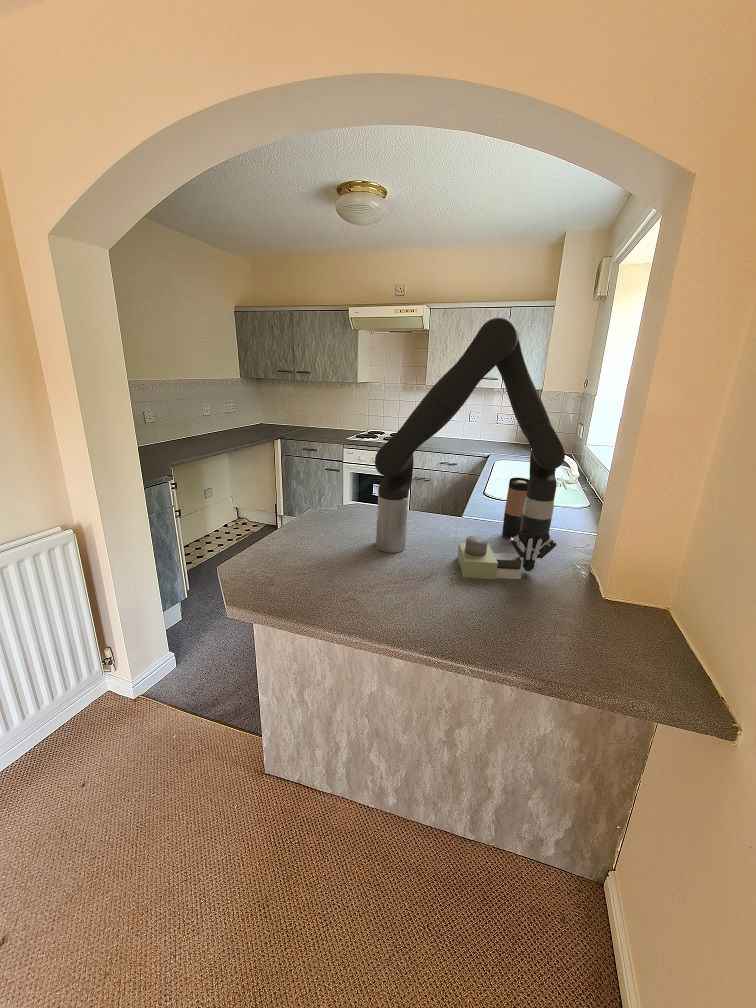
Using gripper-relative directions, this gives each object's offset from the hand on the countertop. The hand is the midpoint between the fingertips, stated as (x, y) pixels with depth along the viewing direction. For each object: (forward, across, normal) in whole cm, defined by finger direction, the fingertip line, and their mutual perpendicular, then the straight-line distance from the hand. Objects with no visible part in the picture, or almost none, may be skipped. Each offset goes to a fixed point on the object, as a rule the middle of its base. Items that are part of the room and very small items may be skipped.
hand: (527, 569), depth 116 cm
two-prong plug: (+1, -11, +2) cm, 11 cm away
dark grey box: (+1, -6, 0) cm, 7 cm away
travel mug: (+1, +3, +26) cm, 27 cm away
